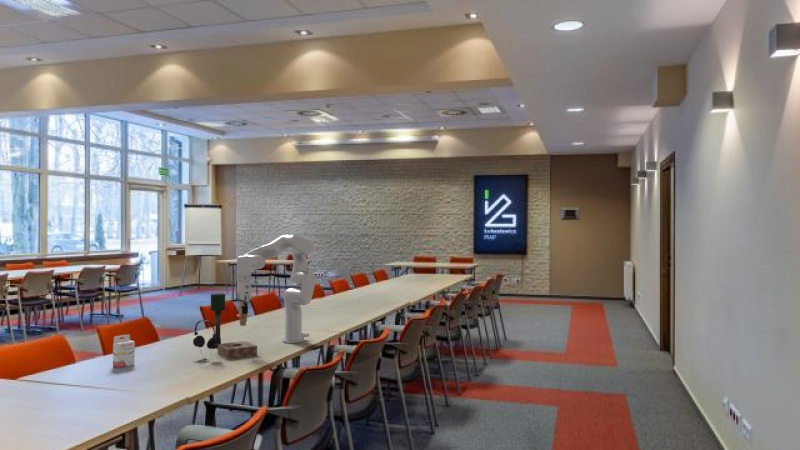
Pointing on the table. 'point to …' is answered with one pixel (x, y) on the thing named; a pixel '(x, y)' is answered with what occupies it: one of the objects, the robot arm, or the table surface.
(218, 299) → the stick grenade
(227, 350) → the socket block
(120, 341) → the ink cartridge box
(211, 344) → the headphones
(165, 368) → the table surface
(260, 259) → the robot arm
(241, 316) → the peg
